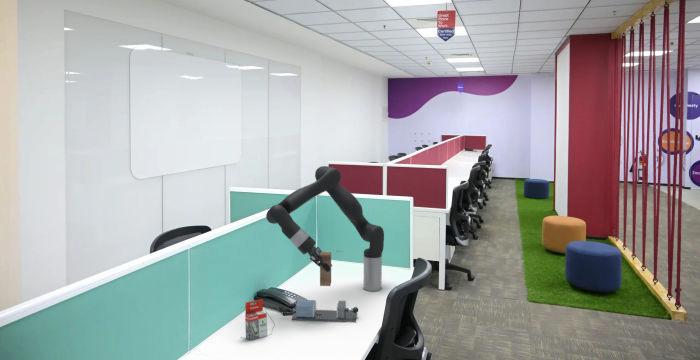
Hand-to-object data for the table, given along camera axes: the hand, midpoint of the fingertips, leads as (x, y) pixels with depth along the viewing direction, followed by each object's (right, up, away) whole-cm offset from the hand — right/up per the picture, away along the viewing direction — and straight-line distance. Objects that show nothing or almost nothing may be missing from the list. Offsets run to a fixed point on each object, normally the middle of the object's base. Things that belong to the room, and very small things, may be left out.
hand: (330, 268), depth 218 cm
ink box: (-29, -24, -17) cm, 41 cm away
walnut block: (-2, -7, +1) cm, 7 cm away
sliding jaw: (-11, -20, +3) cm, 23 cm away
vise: (-2, -22, +3) cm, 22 cm away
